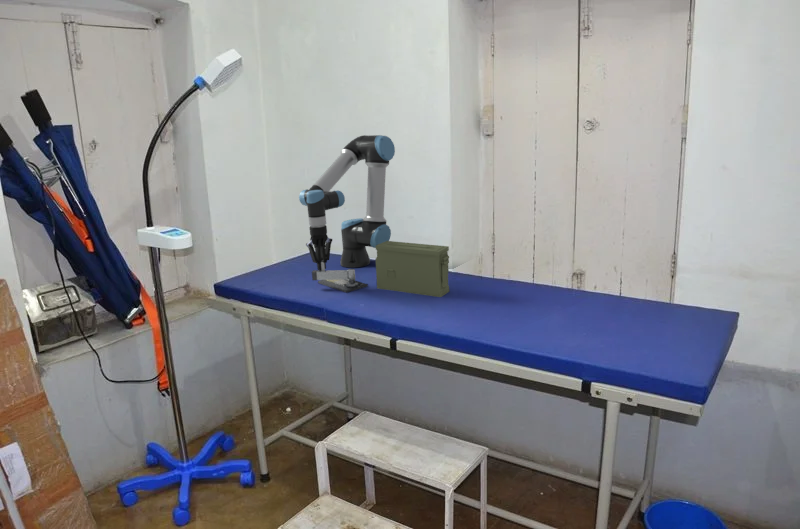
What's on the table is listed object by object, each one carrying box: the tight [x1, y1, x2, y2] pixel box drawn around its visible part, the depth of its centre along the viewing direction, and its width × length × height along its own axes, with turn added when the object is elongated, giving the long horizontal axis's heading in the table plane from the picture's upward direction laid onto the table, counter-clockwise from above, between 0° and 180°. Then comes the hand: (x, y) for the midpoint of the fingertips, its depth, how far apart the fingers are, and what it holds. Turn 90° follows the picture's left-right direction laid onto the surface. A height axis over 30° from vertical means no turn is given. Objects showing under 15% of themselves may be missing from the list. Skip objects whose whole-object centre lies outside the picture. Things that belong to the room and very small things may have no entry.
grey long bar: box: [311, 268, 357, 284], centre depth 268 cm, size 19×3×6 cm, turn 84°
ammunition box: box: [375, 240, 451, 298], centre depth 260 cm, size 10×33×20 cm, turn 60°
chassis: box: [317, 279, 368, 294], centre depth 274 cm, size 12×22×2 cm, turn 41°
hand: (322, 276), depth 271 cm, fingers closed
